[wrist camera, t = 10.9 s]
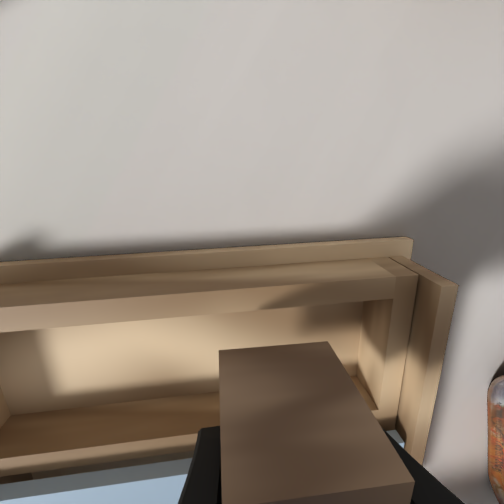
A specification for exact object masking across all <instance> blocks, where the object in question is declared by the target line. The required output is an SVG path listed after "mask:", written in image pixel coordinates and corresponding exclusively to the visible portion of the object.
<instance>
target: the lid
mask: <svg viewBox="0 0 504 504" xmlns="http://www.w3.org/2000/svg"><path fill="white" fill-rule="evenodd" d="M386 432H387V433H388V434H389V435H390V436H391V437H392V438H393V439H394V440H395V441H396V442H397V443H398V444H400V445H401V446H402V447H403V448H404V441H403V440H402V438H401V437H400V435H399V434H398V432H397V431H396V430H390V431H386ZM191 461H192V458H188V459H181V460H174V461H166V462H159V463H152V464H145V465H137V466H130V467H123V468H116V469H109V470H101V471H94V472H87V473H80V474H72V475H65V476H58V477H51V478H43V479H36V480H29V481H22V482H15V483H7V484H0V504H178V501H179V498H180V495H181V492H182V489H183V487H184V484H185V481H186V478H187V474H188V471H189V468H190V464H191Z"/></svg>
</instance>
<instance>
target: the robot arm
mask: <svg viewBox="0 0 504 504" xmlns="http://www.w3.org/2000/svg"><path fill="white" fill-rule="evenodd" d="M381 428H382V427H381ZM382 429H383V428H382ZM383 431H384V432H385V434H386V436H387V437H388V439H389V440H390V442H391V444H392V445H393V447H394V448H395V450H396V452H397V453H398V455H399V456H400V458H401V460H402V461H403V463H404V465H405V466H406V468H407V469H408V471H409V473H410V474H411V476H412V477H413V479H414V481H415V484H414V488H413V493H412V497H411V502H410V504H464V503H463V502H462V501H461V500H460V499H459V498H457V497H456V496H455V495H454V494H453V493H452V492H450V491H449V490H448V489H447V488H446V487H445V486H444V485H442V484H441V483H440V482H439V481H438V480H437V479H436V478H435V477H434V476H432V475H431V474H430V473H429V472H428V471H427V470H426V469H425V468H424V467H423V466H422V465H421V464H420V463H418V462H417V461H416V460H415V459H414V458H413V457H412V456H411V455H410V454H409V453H408V452H407V451H406V450H405V449H404V448H403V447H402V446H401V445H400V444H398V443H397V442H396V441H395V440H394V439H393V438H392V437H391V436H390V435H389V434H388V433H387V432H386V431H385V430H384V429H383ZM178 504H222V486H221V440H220V426H214V427H206V428H201V429H200V430H199V431H198V436H197V441H196V445H195V450H194V454H193V457H192V461H191V464H190V468H189V471H188V474H187V478H186V481H185V484H184V487H183V489H182V492H181V495H180V498H179V501H178Z"/></svg>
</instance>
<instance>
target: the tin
mask: <svg viewBox="0 0 504 504" xmlns="http://www.w3.org/2000/svg"><path fill="white" fill-rule="evenodd" d="M487 405H488V474H489V479H490V482H491V485H492V488H493V491H494V493H495V496H496V498H497V500H498V502H499V504H504V375H502V376H500V377H497V378H496V379H494V380H493V381H492V383H491V384H490V386H489V389H488V395H487Z"/></svg>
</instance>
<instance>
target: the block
mask: <svg viewBox="0 0 504 504" xmlns="http://www.w3.org/2000/svg"><path fill="white" fill-rule="evenodd" d="M219 394H220V440H221V486H222V504H410V502H411V497H412V493H413V488H414V484H415V481H414V479H413V477H412V476H411V474H410V473H409V471H408V469H407V468H406V466H405V465H404V463H403V461H402V460H401V458H400V456H399V455H398V453H397V452H396V450H395V448H394V447H393V445H392V444H391V442H390V440H389V439H388V437H387V436H386V434H385V432H384V431H383V429H382V428H381V426H380V424H379V423H378V421H377V419H376V418H375V416H374V415H373V413H372V411H371V410H370V408H369V407H368V405H367V403H366V402H365V400H364V399H363V397H362V395H361V394H360V392H359V390H358V389H357V387H356V386H355V384H354V382H353V381H352V379H351V378H350V376H349V374H348V373H347V371H346V370H345V368H344V366H343V365H342V363H341V361H340V360H339V358H338V357H337V355H336V353H335V352H334V350H333V349H332V347H331V345H330V344H329V342H328V341H324V342H312V343H300V344H288V345H275V346H263V347H251V348H239V349H227V350H219Z"/></svg>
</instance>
